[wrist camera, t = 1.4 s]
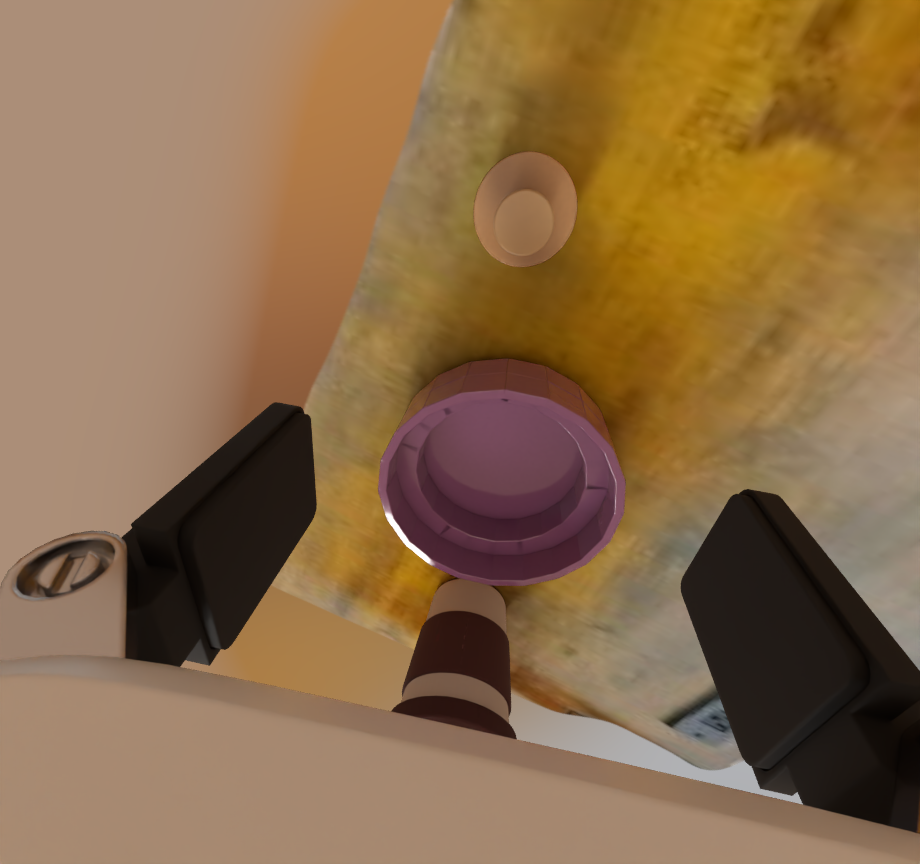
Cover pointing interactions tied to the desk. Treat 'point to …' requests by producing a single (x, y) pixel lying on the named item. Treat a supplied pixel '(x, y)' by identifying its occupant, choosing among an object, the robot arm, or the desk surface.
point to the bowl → (503, 474)
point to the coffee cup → (462, 661)
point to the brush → (525, 209)
